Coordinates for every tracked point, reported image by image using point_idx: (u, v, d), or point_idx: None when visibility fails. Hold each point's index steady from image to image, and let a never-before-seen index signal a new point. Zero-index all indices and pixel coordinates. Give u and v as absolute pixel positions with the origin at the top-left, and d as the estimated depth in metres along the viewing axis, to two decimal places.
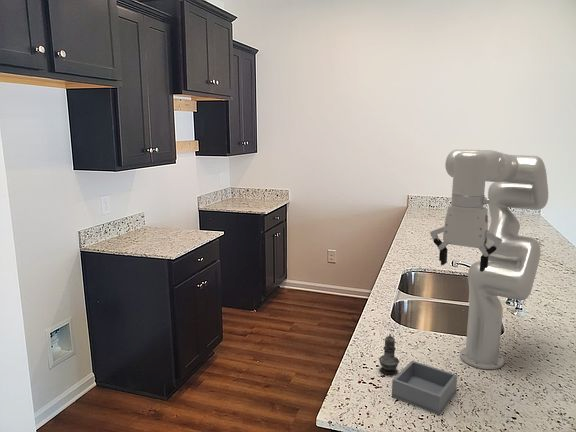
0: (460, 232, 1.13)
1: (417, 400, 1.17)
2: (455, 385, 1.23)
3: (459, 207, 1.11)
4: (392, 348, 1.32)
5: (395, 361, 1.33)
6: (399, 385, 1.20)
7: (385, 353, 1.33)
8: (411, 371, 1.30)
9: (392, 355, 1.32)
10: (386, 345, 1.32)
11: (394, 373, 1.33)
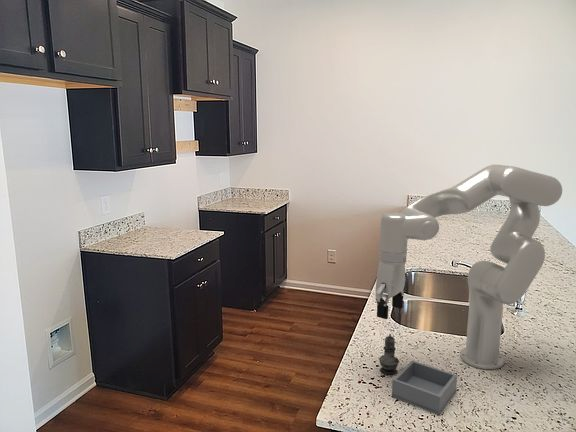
0: (398, 283, 1.27)
1: (417, 400, 1.17)
2: (455, 385, 1.23)
3: (403, 262, 1.25)
4: (392, 348, 1.32)
5: (395, 361, 1.33)
6: (399, 385, 1.20)
7: (385, 353, 1.33)
8: (411, 371, 1.30)
9: (392, 355, 1.32)
10: (386, 345, 1.32)
11: (394, 373, 1.33)
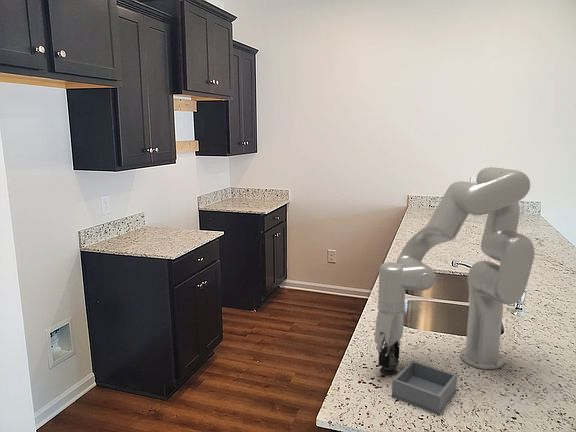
0: (397, 332, 1.30)
1: (417, 400, 1.17)
2: (455, 385, 1.23)
3: (401, 312, 1.28)
4: (392, 348, 1.32)
5: (395, 361, 1.33)
6: (399, 385, 1.20)
7: None
8: (411, 371, 1.30)
9: (392, 355, 1.32)
10: None
11: (394, 373, 1.33)
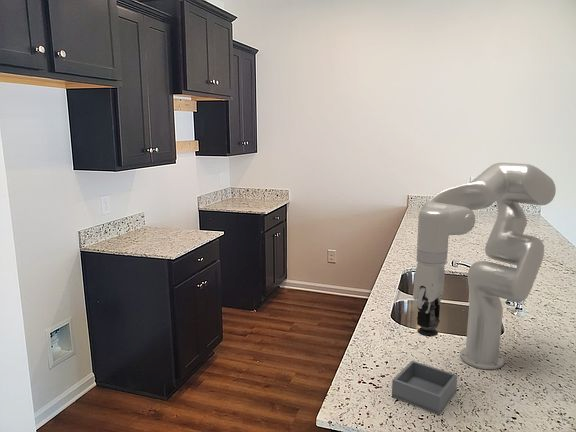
0: (438, 286, 1.15)
1: (417, 400, 1.17)
2: (455, 385, 1.23)
3: (444, 263, 1.13)
4: (432, 305, 1.17)
5: (436, 320, 1.17)
6: (399, 385, 1.20)
7: None
8: (411, 371, 1.30)
9: (432, 313, 1.17)
10: None
11: (434, 334, 1.18)
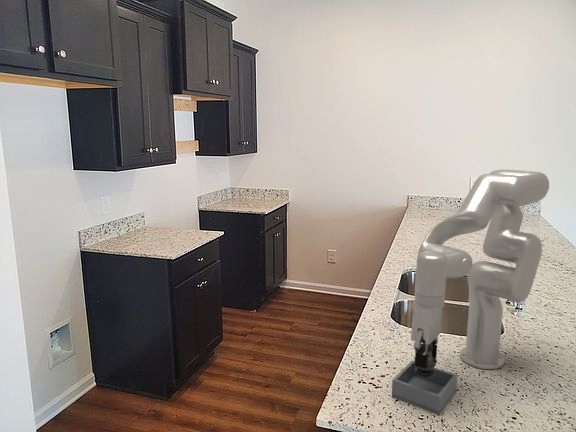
0: (436, 328, 1.17)
1: (417, 400, 1.17)
2: (455, 385, 1.23)
3: (441, 306, 1.15)
4: (430, 346, 1.19)
5: (433, 361, 1.19)
6: (399, 385, 1.20)
7: None
8: (411, 371, 1.30)
9: (429, 354, 1.19)
10: None
11: (431, 374, 1.20)
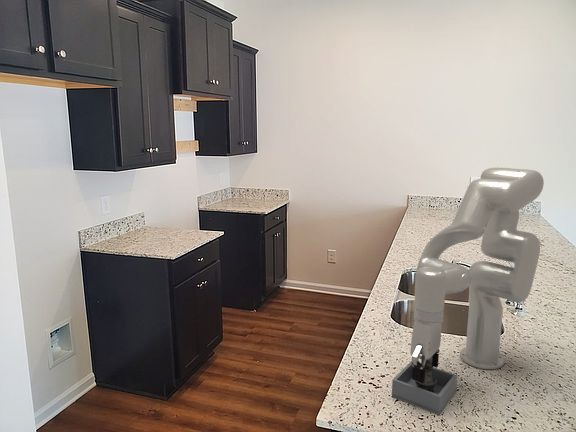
0: (435, 343, 1.18)
1: (417, 400, 1.17)
2: (455, 385, 1.23)
3: (440, 322, 1.16)
4: (429, 366, 1.20)
5: (432, 381, 1.21)
6: (399, 385, 1.20)
7: None
8: (411, 371, 1.30)
9: (429, 374, 1.21)
10: None
11: None
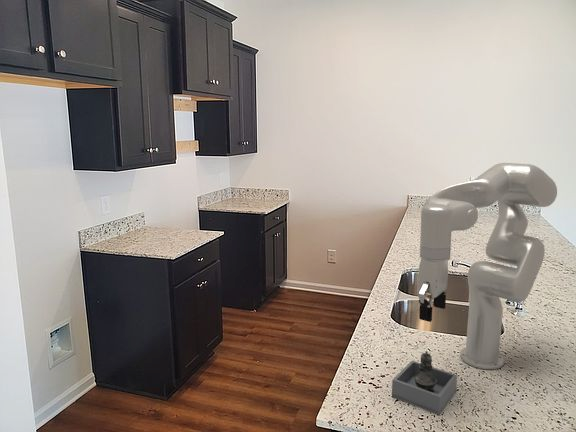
0: (442, 282, 1.16)
1: (417, 400, 1.17)
2: (455, 385, 1.23)
3: (447, 259, 1.13)
4: (429, 366, 1.20)
5: (432, 381, 1.21)
6: (399, 385, 1.20)
7: (421, 372, 1.21)
8: (411, 371, 1.30)
9: (429, 374, 1.21)
10: (422, 363, 1.20)
11: None
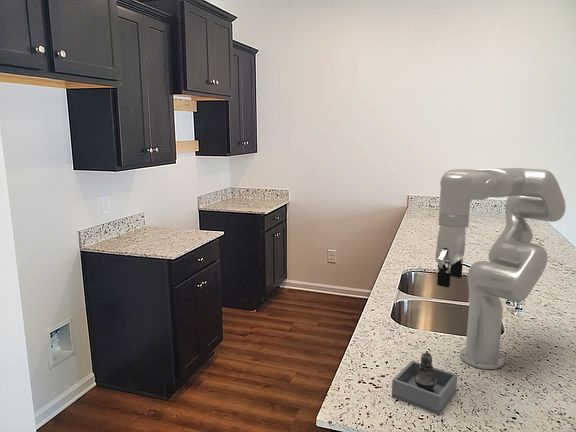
0: (460, 249, 1.19)
1: (417, 400, 1.17)
2: (455, 385, 1.23)
3: (466, 226, 1.17)
4: (429, 366, 1.20)
5: (432, 380, 1.21)
6: (399, 385, 1.20)
7: (421, 372, 1.21)
8: (411, 371, 1.30)
9: (429, 374, 1.21)
10: (423, 363, 1.21)
11: None
